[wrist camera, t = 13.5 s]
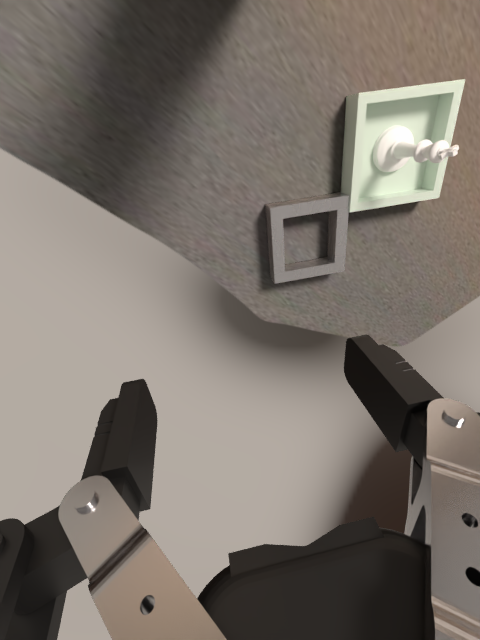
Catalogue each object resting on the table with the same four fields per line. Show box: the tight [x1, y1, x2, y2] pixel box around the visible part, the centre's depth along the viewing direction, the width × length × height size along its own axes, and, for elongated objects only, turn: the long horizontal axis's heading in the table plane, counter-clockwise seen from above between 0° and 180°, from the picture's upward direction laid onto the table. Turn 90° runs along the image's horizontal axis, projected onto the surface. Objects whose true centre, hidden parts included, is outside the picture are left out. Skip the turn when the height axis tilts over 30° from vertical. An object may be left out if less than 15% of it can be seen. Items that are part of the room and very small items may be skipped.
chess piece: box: [373, 126, 459, 172], centre depth 32 cm, size 5×5×10 cm
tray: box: [341, 79, 465, 212], centre depth 36 cm, size 12×12×3 cm
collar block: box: [265, 192, 350, 284], centre depth 40 cm, size 10×10×2 cm
